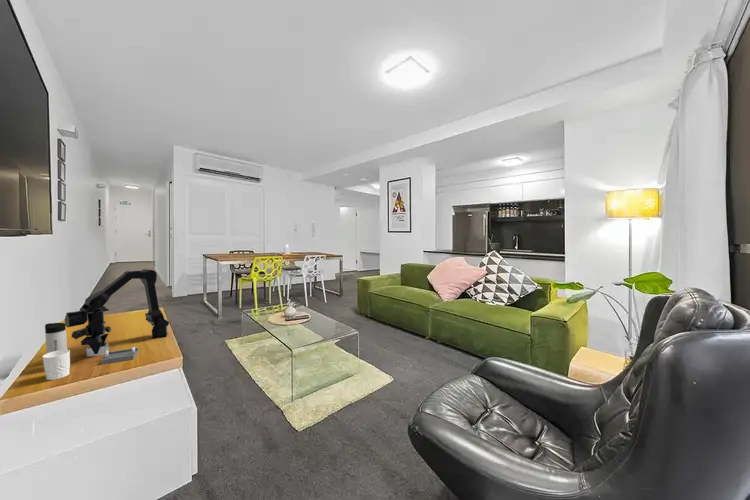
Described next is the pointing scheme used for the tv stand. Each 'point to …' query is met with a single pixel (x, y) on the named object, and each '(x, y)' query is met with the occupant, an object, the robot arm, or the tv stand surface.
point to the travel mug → (55, 337)
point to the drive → (101, 351)
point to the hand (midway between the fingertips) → (97, 352)
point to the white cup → (57, 364)
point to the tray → (119, 355)
